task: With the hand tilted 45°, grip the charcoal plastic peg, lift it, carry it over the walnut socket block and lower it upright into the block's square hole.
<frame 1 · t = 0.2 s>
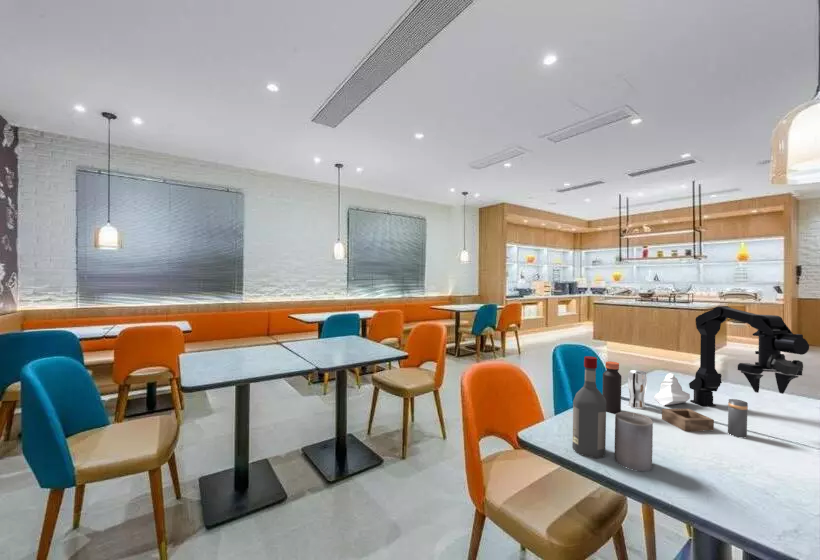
hand: (769, 392, 130), 14 cm above the table, tool pointing down, fingers open, 9 cm apart
beer glass: (636, 406, 154), on the table
liquor: (588, 451, 115), on the table
walnut socket block: (686, 424, 136), on the table
soft serve ice cream: (670, 404, 158), on the table
bottle: (611, 410, 149), on the table
charcoal peg: (737, 434, 127), on the table
pillar candle: (632, 463, 107), on the table
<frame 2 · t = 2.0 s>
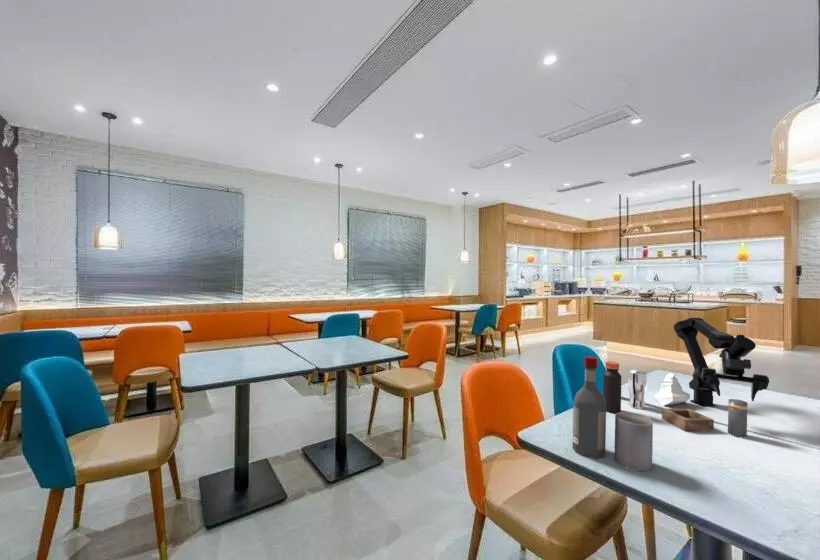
hand: (735, 398, 132), 12 cm above the table, tool tilted 45°, fingers open, 9 cm apart
nothing on the table moved.
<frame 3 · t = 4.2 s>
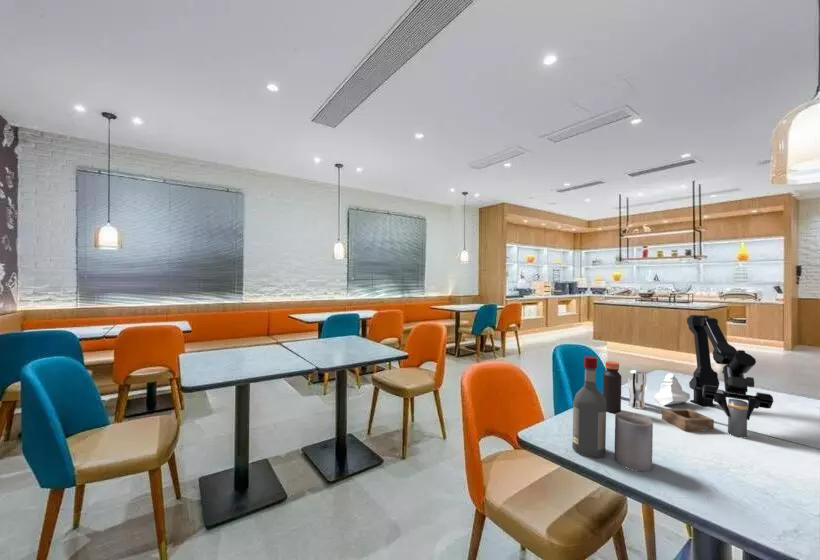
hand: (738, 417, 126), 7 cm above the table, tool tilted 45°, fingers closed on charcoal peg, 5 cm apart
charcoal peg: (737, 434, 127), on the table, touching gripper
everything else where it was.
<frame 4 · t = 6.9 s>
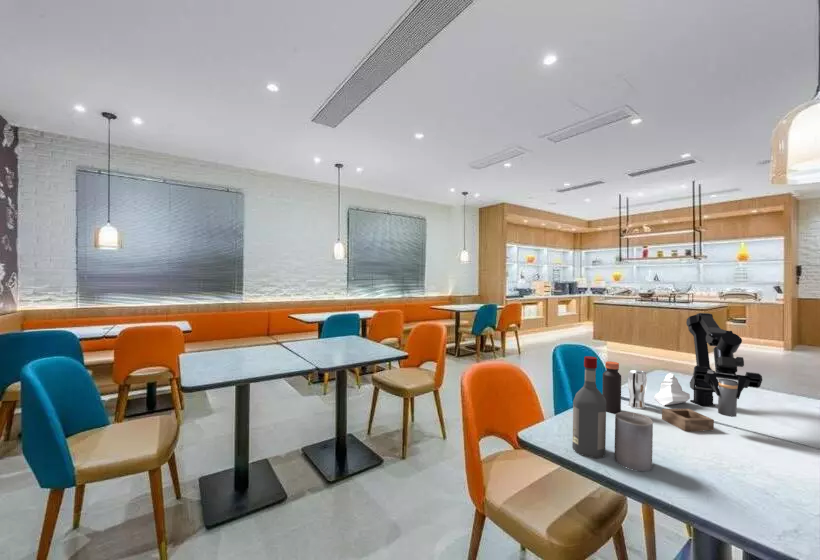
hand: (728, 396, 128), 13 cm above the table, tool tilted 45°, fingers closed on charcoal peg, 5 cm apart
charcoal peg: (727, 414, 129), point 7 cm above the table, touching gripper
everything else where it was.
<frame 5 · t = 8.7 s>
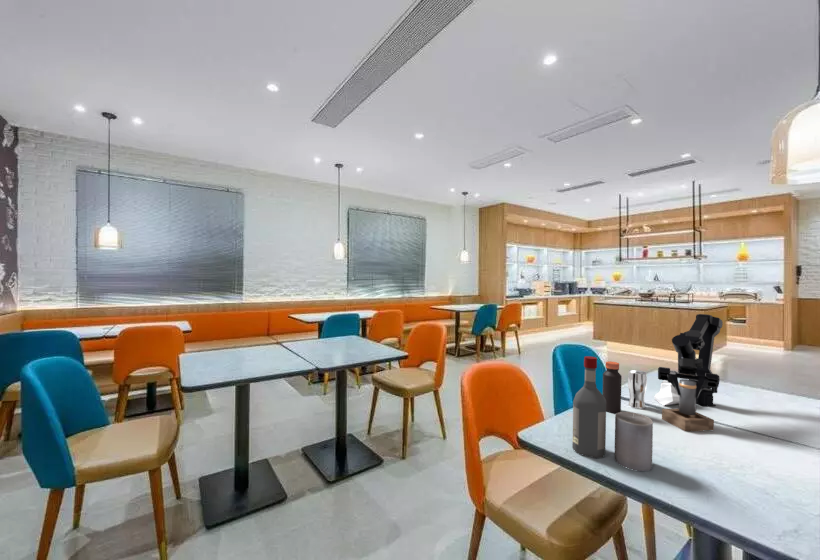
hand: (687, 396, 135), 11 cm above the table, tool tilted 45°, fingers closed on charcoal peg, 5 cm apart
charcoal peg: (687, 412, 136), point 5 cm above the table, touching gripper
everything else where it was.
when the fingers open (8 cm above the table, at t = 10.0 s): charcoal peg stays where it is, resting on walnut socket block.
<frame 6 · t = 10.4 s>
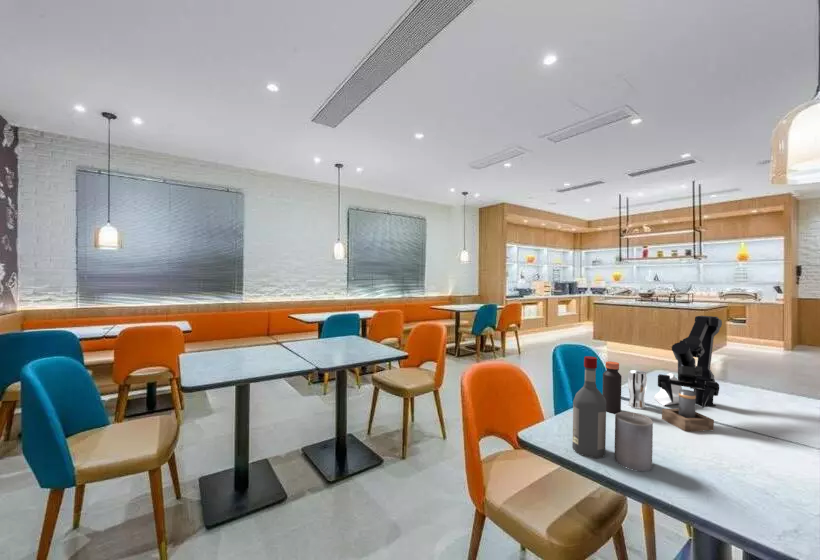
hand: (687, 404, 135), 8 cm above the table, tool tilted 45°, fingers open, 9 cm apart
charcoal peg: (686, 423, 136), point 1 cm above the table, touching walnut socket block
everything else where it was.
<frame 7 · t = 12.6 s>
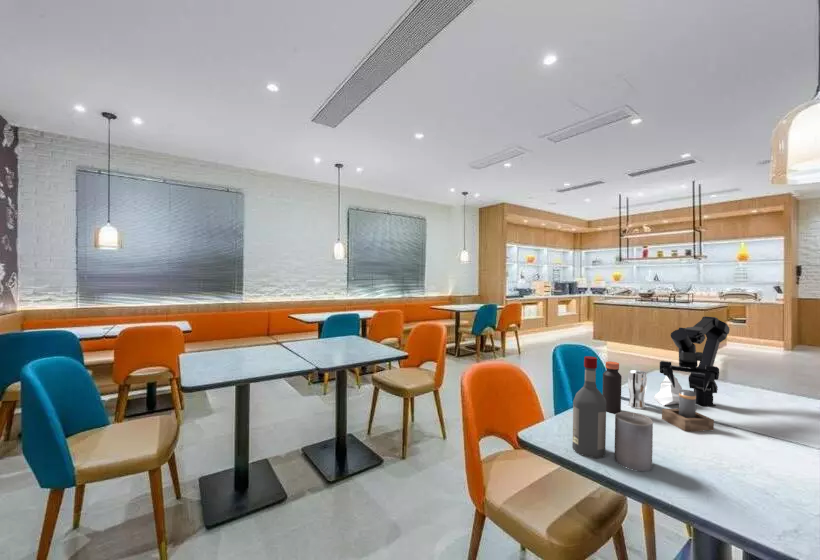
hand: (688, 389, 139), 13 cm above the table, tool tilted 45°, fingers open, 9 cm apart
nothing on the table moved.
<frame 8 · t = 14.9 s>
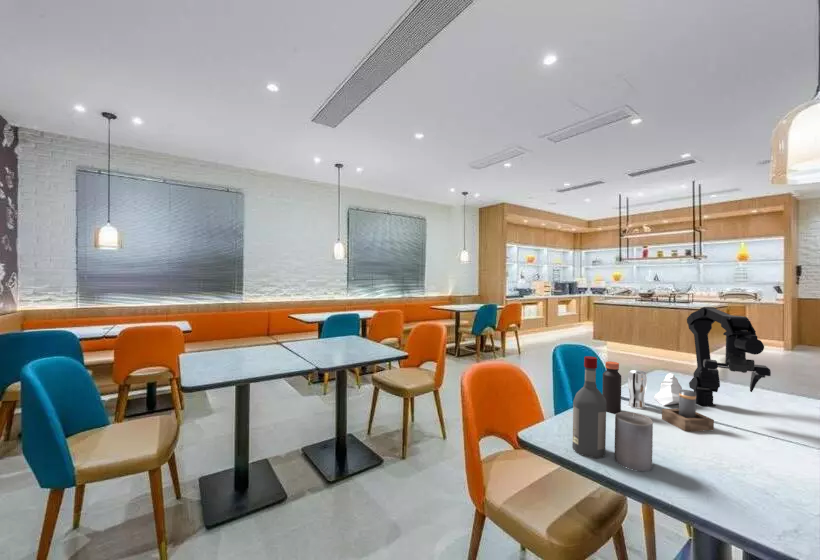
hand: (734, 389, 138), 13 cm above the table, tool pointing down, fingers open, 9 cm apart
nothing on the table moved.
at the end: charcoal peg 0.0 cm off-centre on the walnut socket block, point 0.6 cm above the walnut socket block's base; charcoal peg tilted 0°; the gripper is holding nothing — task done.
